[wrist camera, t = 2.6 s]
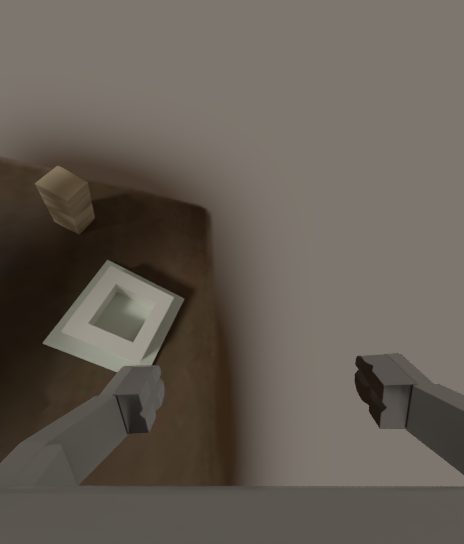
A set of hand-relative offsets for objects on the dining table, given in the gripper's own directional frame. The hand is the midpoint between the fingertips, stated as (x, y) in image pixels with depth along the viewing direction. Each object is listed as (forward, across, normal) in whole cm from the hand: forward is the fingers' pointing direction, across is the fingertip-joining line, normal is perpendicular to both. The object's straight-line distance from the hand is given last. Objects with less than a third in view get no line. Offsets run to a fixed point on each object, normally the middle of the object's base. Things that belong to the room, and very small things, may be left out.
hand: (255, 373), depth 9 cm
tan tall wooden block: (+28, +28, -8) cm, 40 cm away
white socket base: (+22, +20, +8) cm, 31 cm away
